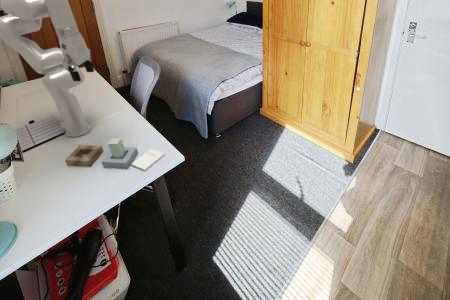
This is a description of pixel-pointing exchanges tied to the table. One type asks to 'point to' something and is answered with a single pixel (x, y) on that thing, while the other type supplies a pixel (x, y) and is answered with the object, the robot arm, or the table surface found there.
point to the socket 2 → (120, 163)
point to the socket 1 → (88, 161)
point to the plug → (117, 148)
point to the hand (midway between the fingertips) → (84, 76)
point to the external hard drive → (147, 159)
